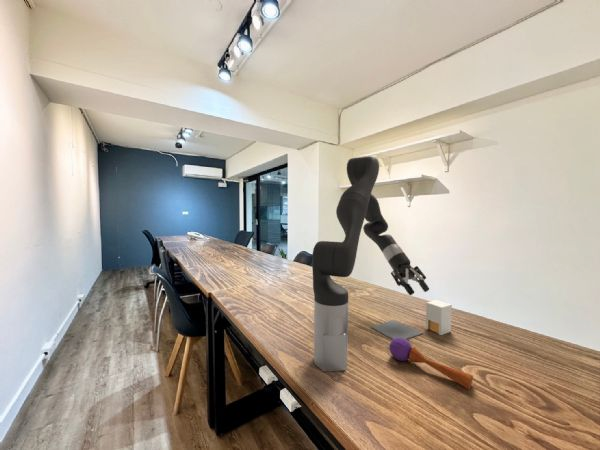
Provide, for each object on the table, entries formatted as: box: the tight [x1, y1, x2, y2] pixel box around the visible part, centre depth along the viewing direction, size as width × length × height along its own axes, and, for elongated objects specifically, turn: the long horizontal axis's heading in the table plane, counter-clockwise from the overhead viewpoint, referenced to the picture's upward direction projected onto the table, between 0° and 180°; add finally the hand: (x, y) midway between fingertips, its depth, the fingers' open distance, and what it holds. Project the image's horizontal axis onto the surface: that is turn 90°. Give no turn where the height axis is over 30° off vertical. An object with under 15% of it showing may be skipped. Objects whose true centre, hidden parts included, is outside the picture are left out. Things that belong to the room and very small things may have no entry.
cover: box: [425, 299, 453, 336], centre depth 90 cm, size 6×6×10 cm
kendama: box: [389, 338, 474, 390], centre depth 68 cm, size 6×6×20 cm
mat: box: [370, 319, 423, 341], centre depth 90 cm, size 12×12×1 cm
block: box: [428, 321, 439, 334], centre depth 90 cm, size 4×4×4 cm
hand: (420, 292), depth 96 cm, fingers open, 8 cm apart
